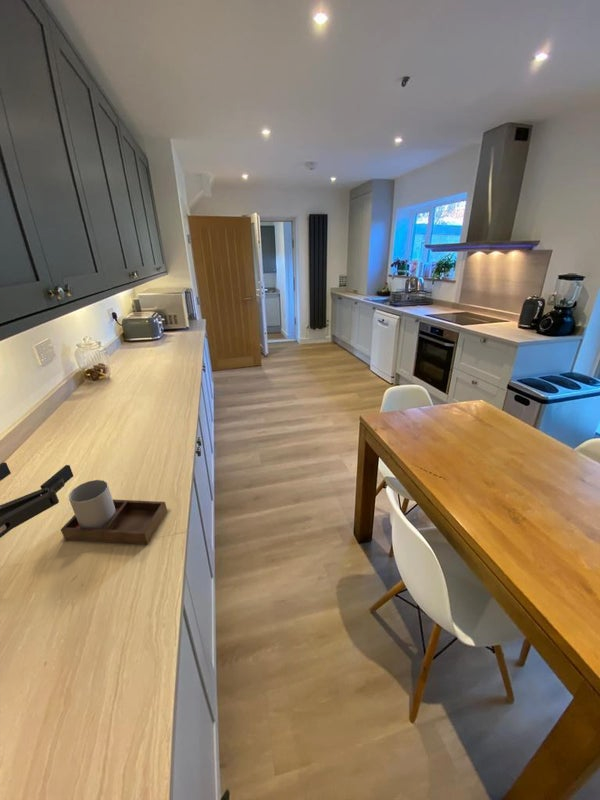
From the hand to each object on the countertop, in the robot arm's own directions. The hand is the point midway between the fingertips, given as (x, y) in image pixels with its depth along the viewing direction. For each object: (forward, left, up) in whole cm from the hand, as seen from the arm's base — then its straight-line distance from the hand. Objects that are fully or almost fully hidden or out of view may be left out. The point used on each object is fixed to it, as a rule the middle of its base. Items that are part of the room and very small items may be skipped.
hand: (38, 469), depth 66 cm
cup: (0, +10, -24) cm, 26 cm away
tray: (+5, +10, -25) cm, 27 cm away
